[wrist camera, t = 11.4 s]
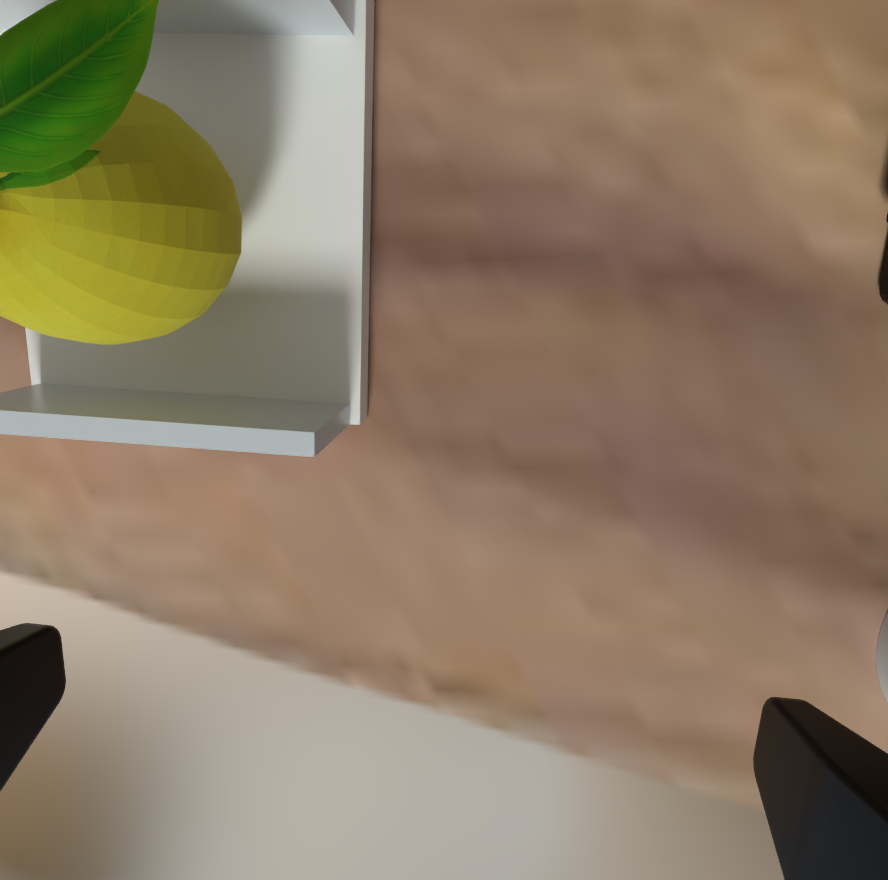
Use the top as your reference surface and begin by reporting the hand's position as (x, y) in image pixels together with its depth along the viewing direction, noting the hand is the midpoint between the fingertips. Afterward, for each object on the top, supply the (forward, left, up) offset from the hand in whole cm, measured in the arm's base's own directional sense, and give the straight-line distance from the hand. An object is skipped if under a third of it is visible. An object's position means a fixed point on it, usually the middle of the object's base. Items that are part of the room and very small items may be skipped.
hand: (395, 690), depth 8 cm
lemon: (+8, -6, -11) cm, 15 cm away
